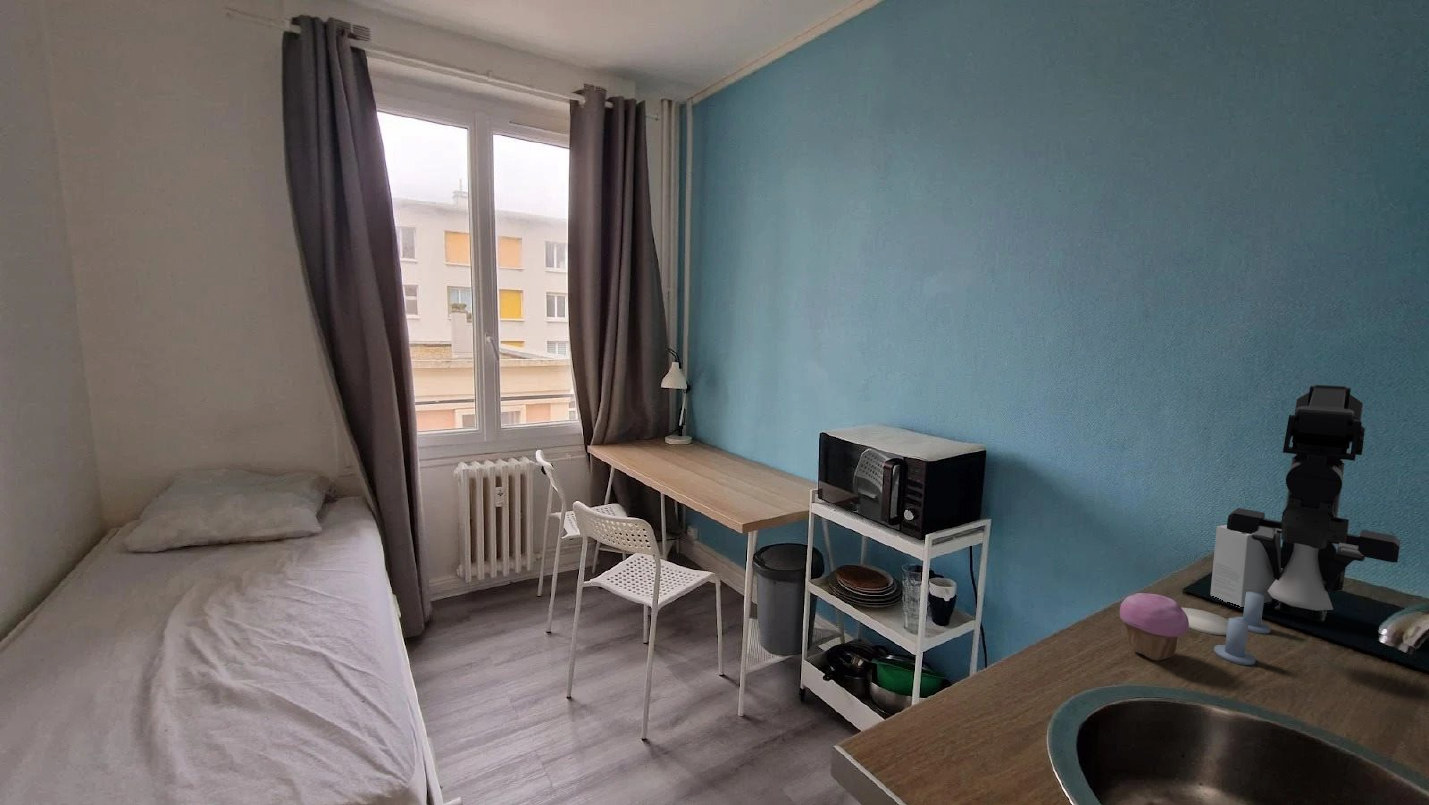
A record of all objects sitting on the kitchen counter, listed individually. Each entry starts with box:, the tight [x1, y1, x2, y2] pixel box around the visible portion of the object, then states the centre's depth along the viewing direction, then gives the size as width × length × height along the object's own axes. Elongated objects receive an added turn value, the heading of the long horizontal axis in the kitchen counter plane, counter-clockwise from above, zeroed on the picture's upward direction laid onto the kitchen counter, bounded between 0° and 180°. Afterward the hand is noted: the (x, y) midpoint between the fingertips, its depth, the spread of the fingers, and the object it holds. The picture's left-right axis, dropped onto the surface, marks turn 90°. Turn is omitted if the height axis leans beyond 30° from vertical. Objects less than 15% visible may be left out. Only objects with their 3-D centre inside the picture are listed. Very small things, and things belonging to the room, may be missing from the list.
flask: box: [1268, 543, 1334, 611], centre depth 93 cm, size 7×7×10 cm
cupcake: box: [1119, 592, 1190, 662], centre depth 94 cm, size 9×9×10 cm
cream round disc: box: [1181, 607, 1229, 636], centre depth 106 cm, size 9×9×1 cm
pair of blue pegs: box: [1213, 592, 1272, 666], centre depth 99 cm, size 20×5×6 cm, turn 130°
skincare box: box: [1210, 524, 1275, 608], centre depth 114 cm, size 8×6×15 cm
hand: (1301, 584), depth 93 cm, fingers closed on flask, 5 cm apart
